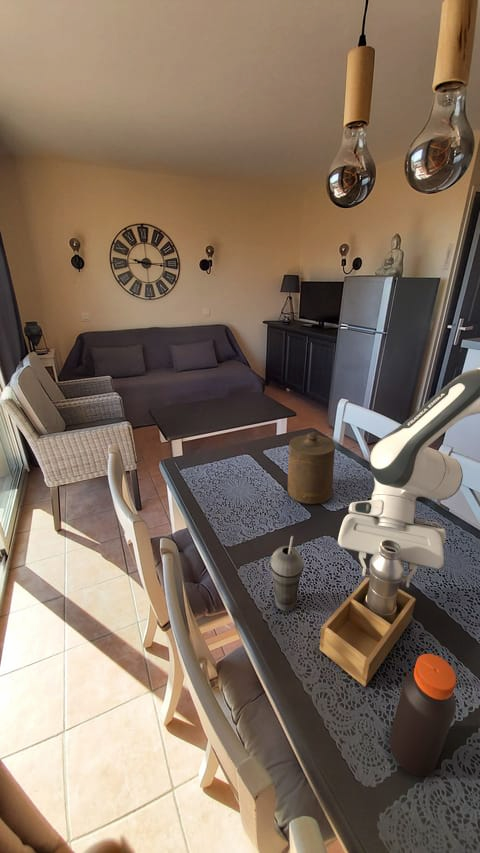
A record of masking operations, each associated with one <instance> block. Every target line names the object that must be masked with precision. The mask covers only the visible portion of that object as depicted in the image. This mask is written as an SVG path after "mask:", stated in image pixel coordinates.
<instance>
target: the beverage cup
mask: <svg viewBox="0 0 480 853" xmlns="http://www.w3.org/2000/svg"><path fill="white" fill-rule="evenodd" d="M293 541H294V536H293V535H291V536H290V542H289V545H282V546H280V547H278V548H277V549H276V550H275V551H274V552H273V553H272V554H271V559H270V561H269V566H270V571H271V575H272V583H273V591H274V600H275V605H276V607H277V608H278V609H279V610H281V611H282V612H283V611H284V612H289V611H292V610H293V609H294V608H295V606H296V603H297V598H298V592H299V586H300V580H301V577H302V574H303V571H304V567H305V566H304V562H303V557H302V555H301V554H300V552H299V551H298V550H297V549H296V548H294V547H293V543H294V542H293Z"/></svg>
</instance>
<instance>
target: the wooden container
mask: <svg viewBox="0 0 480 853" xmlns="http://www.w3.org/2000/svg"><path fill="white" fill-rule="evenodd" d="M335 453H336V444H335V442H334V441H333V440H331V439H329V438H328V437H326V436H322V435H318V434H317V433H316V432H315V431H311V432H309V433H307V434H302V435H298V436H295V437H293V438H292V439H290V441H289V444H288V464H287V465H288V466H287V493H288V495H289V497H291V498H292V499H293V500H295V501H297V502H299V503H302V504H307V505H317V504H323V503H325V502H326V501H328V500H330V499H331V497H332V494H333V483H334V466H335Z"/></svg>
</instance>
